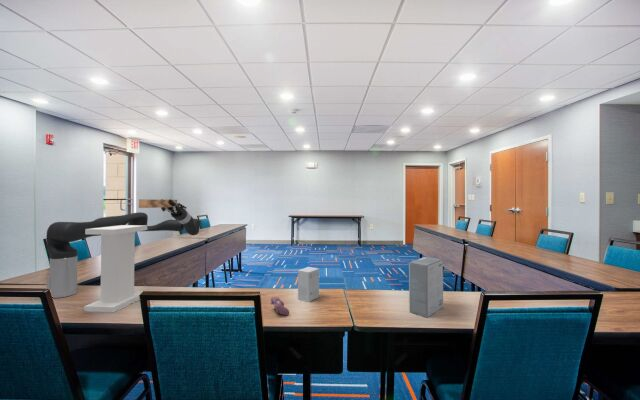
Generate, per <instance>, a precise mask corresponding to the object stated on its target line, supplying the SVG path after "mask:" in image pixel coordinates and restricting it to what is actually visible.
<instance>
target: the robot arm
mask: <svg viewBox="0 0 640 400" xmlns="http://www.w3.org/2000/svg"><path fill="white" fill-rule="evenodd" d="M160 200H164V199H163V198H161V199H160ZM168 200H169V202H168V203H169V204H170V205H171V206H173V207H160V209H161V211H162V212H166V211H167V212H168V213H170V216H171V217H172V218H173V219H167V220H164V221H161V222H159V223H156V224H154V225H148V221H149V218H148V217H149V216H148V214H147V213H146V212H131V213H127V214H123V215H122V214H121V215H115V216H105V217H98V218H96V219H94V220H92V221H84V222H83V221H79V222H78V221H77V222H76V221H75V222H74V221H57V222H53V223H51V224H50V225H48V228H47V230H46V250H47V253H48V254H49V274H48V275H47V276H46V290H47V289H50V290H51V294H52V296H53V298H52V299H59V298H66V297H70V296H73V295H76V294H77V293H78V255H79V254H78V253H79V252H78V250H77V249H76V248H74V247H73V246H72V245H71V244H70V243H73V242H78V241H81V240H84V239H87V238H91V237H98V236H101V235H97V234H85V229H91V228H101V227H110V226H119V225H147V230H143V231H142V232H163V231H165V232H166V231H168V232H183V231H184V230H185V232H186V233H187V234H188V235H190V236H196V235H198V234H199V233H200V229H201V224H202V223H201V220H200V219H198V218H194V217H193V216H192V215H191V214H190V213H189V212H188V211H187V207H186V206H185V205H183V204H181V203H180V202H177V203H175V202H174V201H172V200H173V199H168Z"/></svg>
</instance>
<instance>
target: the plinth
mask: <svg viewBox="0 0 640 400" xmlns="http://www.w3.org/2000/svg"><path fill="white" fill-rule="evenodd" d="M147 226H148V224H147V225H129V224H126V225H119V226H110V227H101V228H91V229H85V234H97V235H100V236H101V237H100V299H98V300H96V301H93V302H91V303H89V304H87V305H84V307H83V311H84V312H90V313H92V312H93V313H115V312H117V311H119V310H121V309H123V308H125V307H127V306H130V305H132V304H133V303H135V301H136V302H137V301H139V294H140V293H141V292H142V291H139V290H138V291H135V251H136V250H135V248H136V247H135V245H136V242H135V241H136V240H135V239H136V238H135V237H136V235H135V233H136V232H144V231H143V230H147ZM131 303H132V304H131Z"/></svg>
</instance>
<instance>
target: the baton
mask: <svg viewBox="0 0 640 400" xmlns="http://www.w3.org/2000/svg"><path fill="white" fill-rule="evenodd" d="M171 200H172V201H174V202H175V203H177V204H178V199H171ZM168 202H169V199H163V200H161V199H146V198H145V199H138V208H139V209H151V208H154V209H156V208H161V207H173V206H171V205H170V204H169V203H168Z"/></svg>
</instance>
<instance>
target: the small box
mask: <svg viewBox="0 0 640 400" xmlns="http://www.w3.org/2000/svg"><path fill="white" fill-rule="evenodd" d="M318 298H320V268H318V267H314V266H313V267H311V266H307V267H304V268H300V269H298V270H297V300H299V301H302V302H303V301H304V302H305V303H310V302H312V301H314V300H316V299H318Z"/></svg>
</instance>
